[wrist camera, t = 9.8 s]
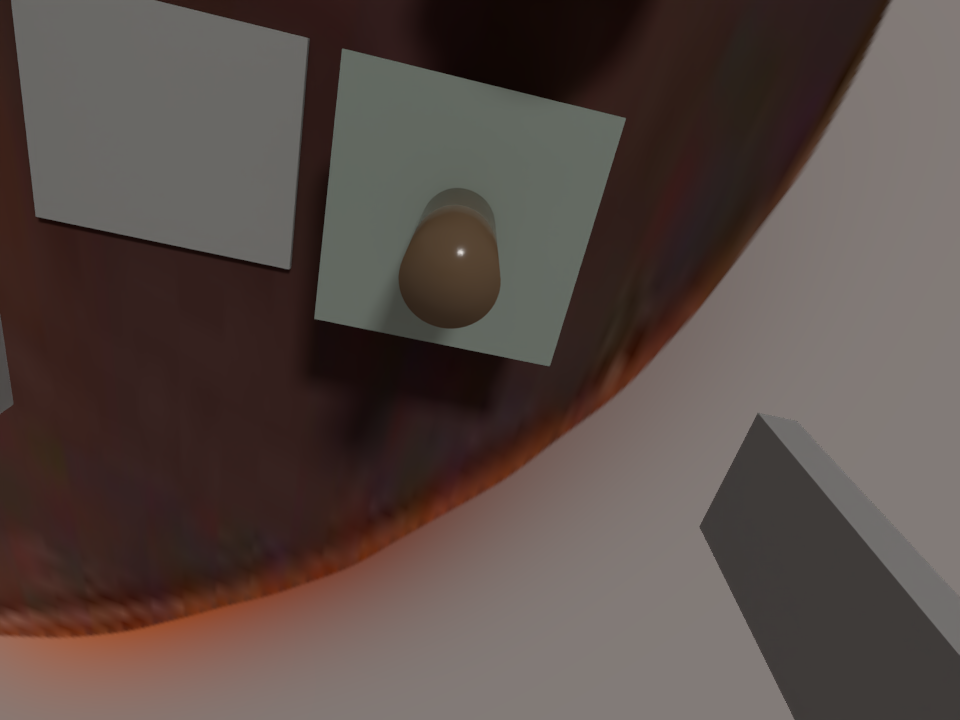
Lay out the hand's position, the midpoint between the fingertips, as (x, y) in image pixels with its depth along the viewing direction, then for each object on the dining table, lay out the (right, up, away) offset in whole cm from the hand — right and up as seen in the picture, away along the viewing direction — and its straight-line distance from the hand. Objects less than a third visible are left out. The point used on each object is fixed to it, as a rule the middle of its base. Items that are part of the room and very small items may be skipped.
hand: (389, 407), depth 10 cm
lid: (+1, +7, +17) cm, 19 cm away
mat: (-15, +13, +20) cm, 28 cm away
